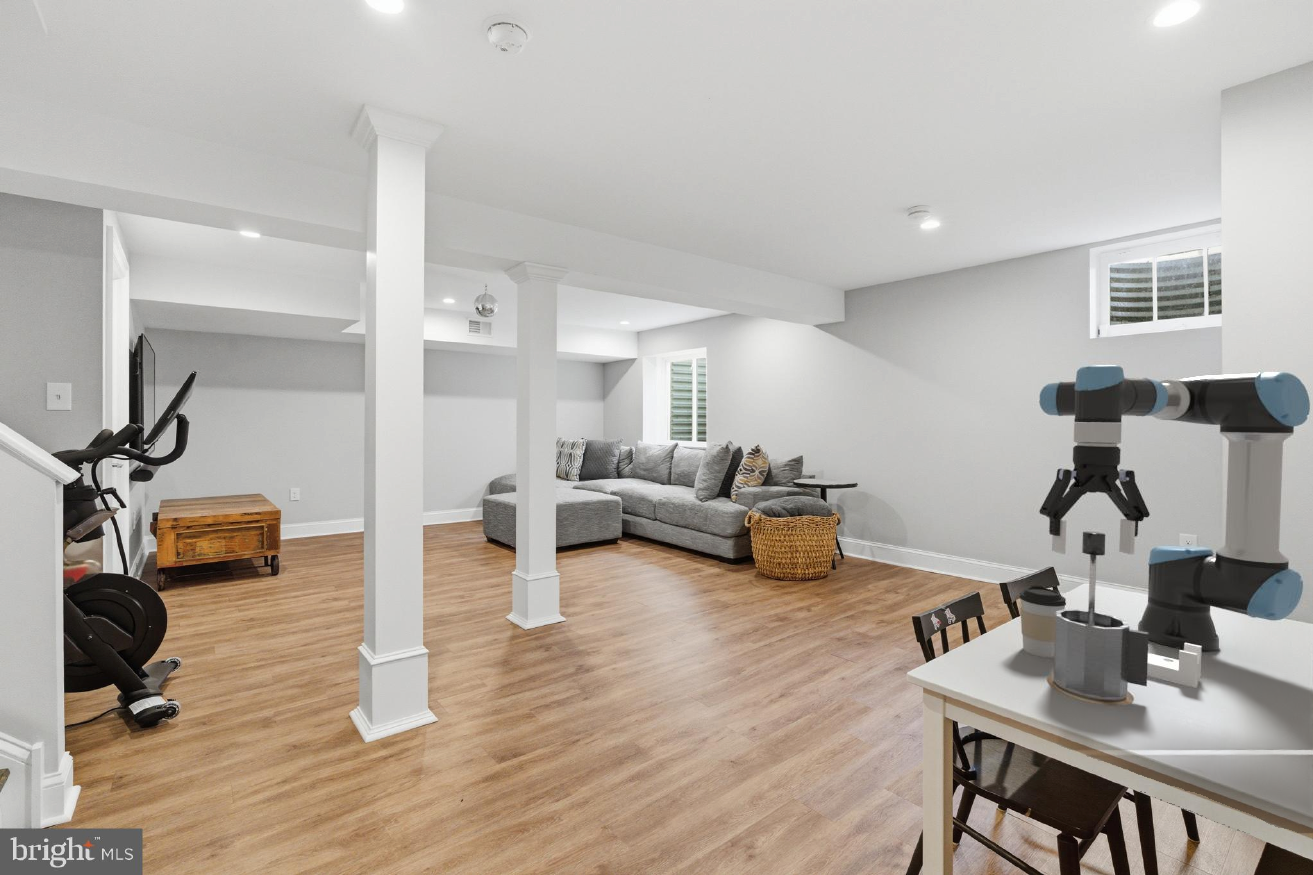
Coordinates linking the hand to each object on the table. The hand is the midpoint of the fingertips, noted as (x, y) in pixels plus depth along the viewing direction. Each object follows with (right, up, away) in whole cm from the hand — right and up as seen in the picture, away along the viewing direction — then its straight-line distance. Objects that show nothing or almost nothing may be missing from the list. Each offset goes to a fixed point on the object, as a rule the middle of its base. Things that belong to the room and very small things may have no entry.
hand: (1092, 552), depth 119 cm
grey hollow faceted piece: (0, -27, +1) cm, 27 cm away
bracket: (+20, -28, +9) cm, 36 cm away
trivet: (0, -28, +1) cm, 28 cm away
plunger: (0, -16, +1) cm, 16 cm away
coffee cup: (+3, -27, +20) cm, 34 cm away
